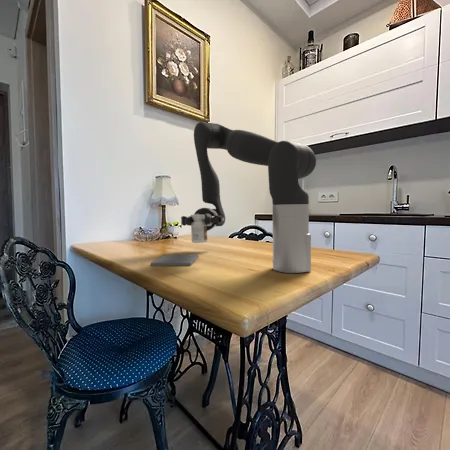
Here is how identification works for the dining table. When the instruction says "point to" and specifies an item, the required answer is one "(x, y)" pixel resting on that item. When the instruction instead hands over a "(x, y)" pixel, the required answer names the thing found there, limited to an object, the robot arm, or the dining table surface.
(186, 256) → the mat
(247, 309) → the dining table surface
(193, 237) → the pill bottle
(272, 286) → the dining table surface
